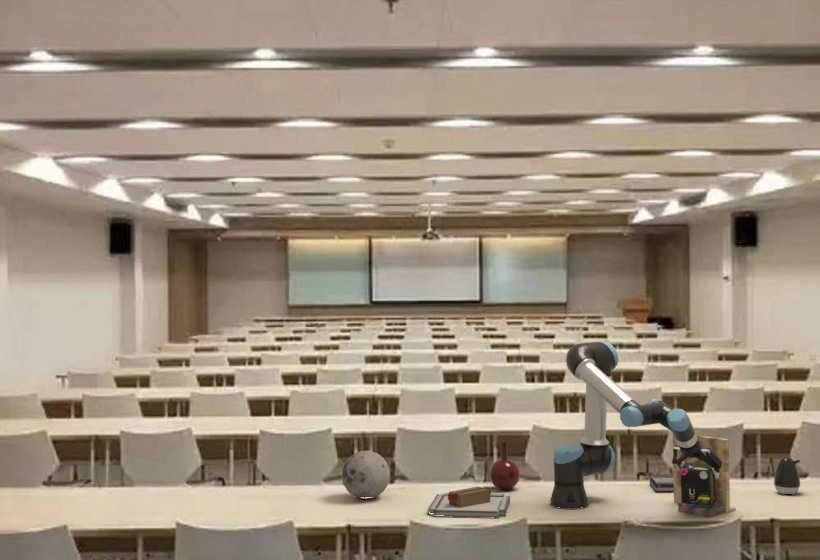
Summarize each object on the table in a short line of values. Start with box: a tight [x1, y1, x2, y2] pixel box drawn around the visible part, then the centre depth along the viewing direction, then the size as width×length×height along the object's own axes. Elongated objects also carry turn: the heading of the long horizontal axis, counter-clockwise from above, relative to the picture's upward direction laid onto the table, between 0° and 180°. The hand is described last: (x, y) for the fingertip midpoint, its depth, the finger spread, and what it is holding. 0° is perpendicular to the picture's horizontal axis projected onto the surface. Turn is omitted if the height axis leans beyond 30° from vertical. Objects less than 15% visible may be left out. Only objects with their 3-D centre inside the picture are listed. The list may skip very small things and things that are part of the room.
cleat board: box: [672, 433, 737, 518], centre depth 392 cm, size 24×16×28 cm, turn 40°
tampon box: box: [680, 462, 716, 508], centre depth 385 cm, size 11×9×15 cm
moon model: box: [341, 450, 391, 498], centre depth 421 cm, size 20×20×20 cm
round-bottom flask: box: [489, 442, 521, 491], centre depth 433 cm, size 13×13×20 cm
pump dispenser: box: [773, 456, 801, 495], centre depth 415 cm, size 10×10×15 cm
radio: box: [649, 474, 674, 494], centre depth 429 cm, size 24×5×20 cm
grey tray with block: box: [427, 486, 511, 519], centre depth 400 cm, size 30×30×8 cm
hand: (701, 474), depth 389 cm, fingers open, 12 cm apart
